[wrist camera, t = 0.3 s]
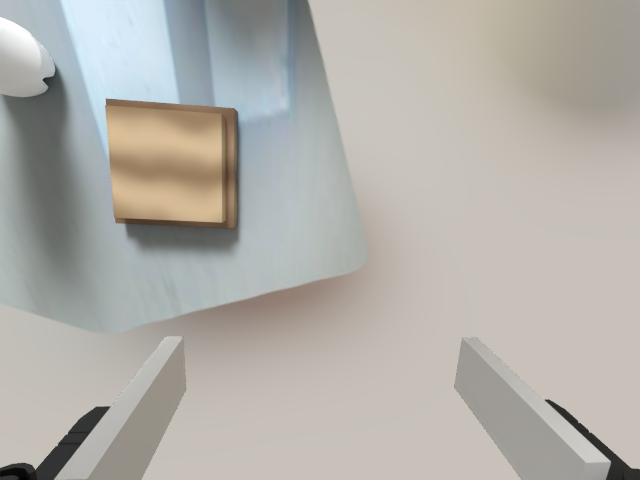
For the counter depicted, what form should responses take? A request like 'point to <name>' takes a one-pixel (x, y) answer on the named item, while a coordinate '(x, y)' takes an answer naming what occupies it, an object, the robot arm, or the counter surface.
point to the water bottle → (22, 62)
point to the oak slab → (167, 164)
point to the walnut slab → (230, 161)
